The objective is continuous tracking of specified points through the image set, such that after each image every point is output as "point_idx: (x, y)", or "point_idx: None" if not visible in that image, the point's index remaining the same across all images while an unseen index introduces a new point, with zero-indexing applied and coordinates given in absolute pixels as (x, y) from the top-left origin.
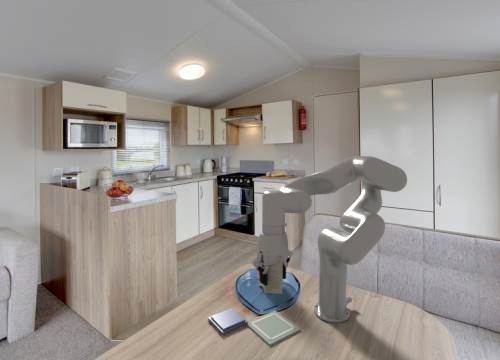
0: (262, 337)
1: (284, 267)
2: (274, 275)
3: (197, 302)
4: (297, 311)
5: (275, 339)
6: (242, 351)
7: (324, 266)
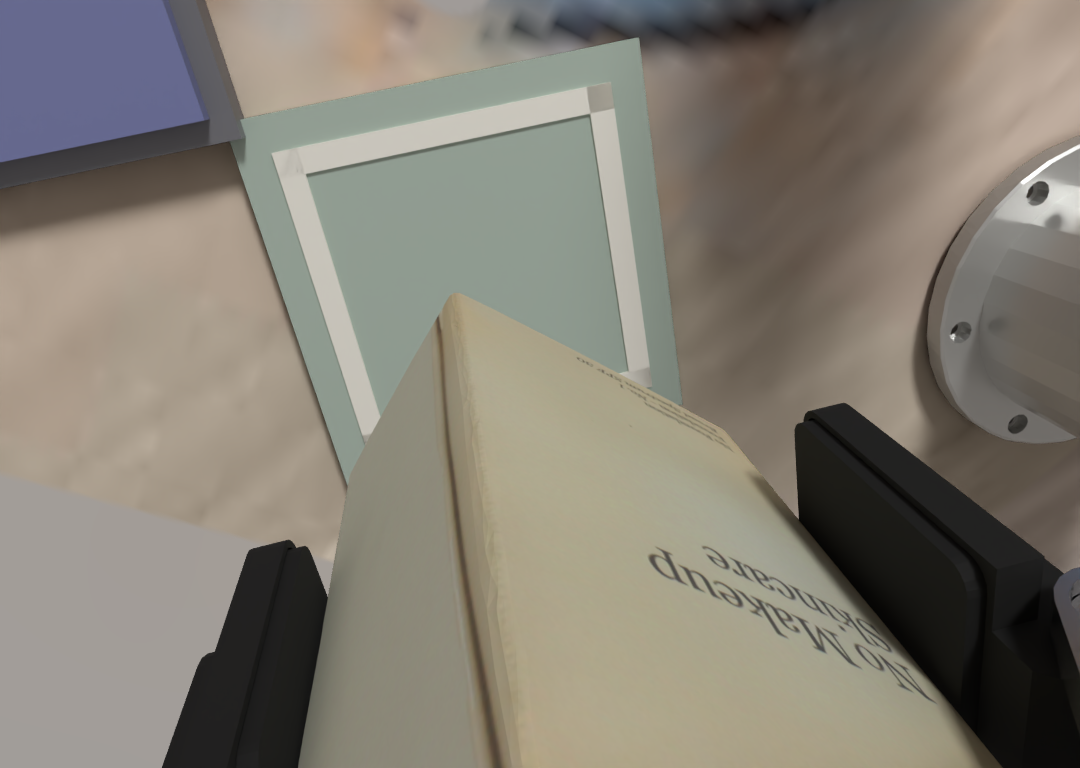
0: (317, 392)
1: (999, 755)
2: None
3: None
4: (842, 138)
5: None
6: (98, 459)
7: None
